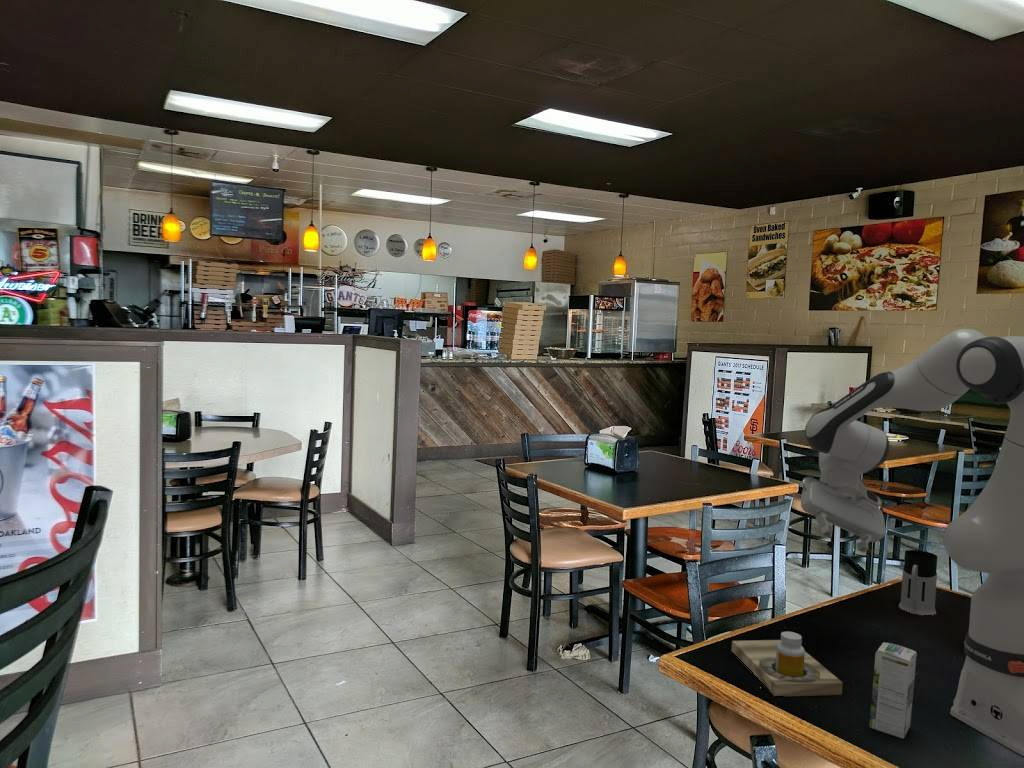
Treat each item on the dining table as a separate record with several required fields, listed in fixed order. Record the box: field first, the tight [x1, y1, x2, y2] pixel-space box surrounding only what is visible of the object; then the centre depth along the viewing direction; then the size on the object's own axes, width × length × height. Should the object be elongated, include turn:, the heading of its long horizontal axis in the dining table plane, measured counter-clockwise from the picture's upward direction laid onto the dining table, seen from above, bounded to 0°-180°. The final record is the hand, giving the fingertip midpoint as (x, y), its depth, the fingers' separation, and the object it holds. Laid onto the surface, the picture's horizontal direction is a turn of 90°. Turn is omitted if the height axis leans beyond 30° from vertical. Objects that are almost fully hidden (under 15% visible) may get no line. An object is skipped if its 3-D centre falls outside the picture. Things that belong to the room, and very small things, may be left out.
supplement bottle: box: [775, 631, 806, 677], centre depth 144 cm, size 5×5×10 cm
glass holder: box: [898, 549, 938, 616], centre depth 185 cm, size 9×14×15 cm, turn 141°
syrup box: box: [869, 642, 918, 740], centre depth 128 cm, size 6×6×14 cm
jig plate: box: [731, 639, 843, 697], centre depth 149 cm, size 20×14×2 cm
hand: (844, 542), depth 156 cm, fingers open, 8 cm apart
